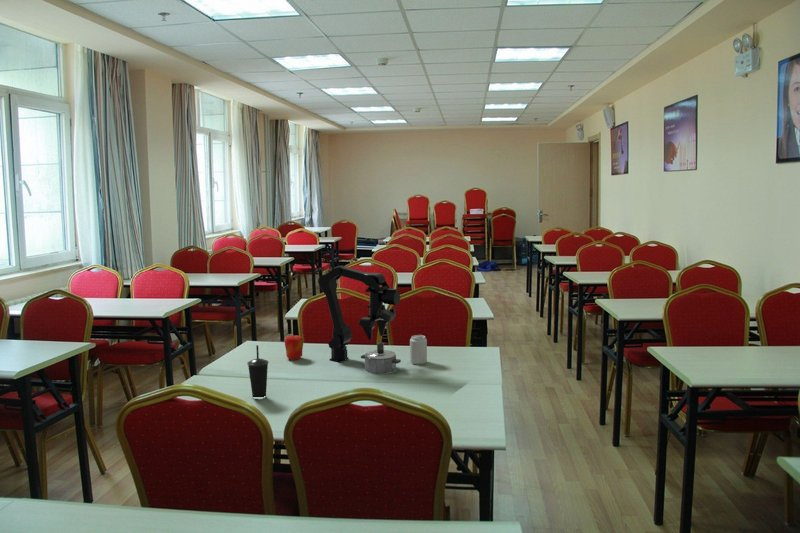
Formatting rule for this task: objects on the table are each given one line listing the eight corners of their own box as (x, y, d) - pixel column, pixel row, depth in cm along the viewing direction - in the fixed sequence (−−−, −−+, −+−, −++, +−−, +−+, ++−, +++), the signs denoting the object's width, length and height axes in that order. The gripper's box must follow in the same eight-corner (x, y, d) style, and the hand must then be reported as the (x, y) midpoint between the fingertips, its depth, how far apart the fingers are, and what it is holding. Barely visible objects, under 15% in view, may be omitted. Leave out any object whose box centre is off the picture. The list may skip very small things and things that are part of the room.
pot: (354, 370, 271) (354, 356, 270) (370, 362, 282) (370, 349, 282) (391, 376, 262) (391, 362, 262) (406, 367, 274) (406, 354, 273)
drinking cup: (250, 394, 241) (248, 343, 238) (270, 394, 242) (269, 342, 239) (247, 401, 234) (245, 348, 231) (268, 400, 234) (266, 347, 232)
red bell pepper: (294, 362, 284) (293, 336, 282) (280, 359, 288) (280, 334, 287) (307, 357, 291) (307, 332, 289) (294, 355, 295) (293, 330, 294)
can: (425, 365, 277) (425, 338, 276) (408, 364, 279) (408, 337, 277) (428, 360, 284) (428, 334, 283) (411, 360, 286) (411, 333, 284)
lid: (360, 357, 269) (359, 344, 268) (375, 350, 280) (375, 338, 279) (385, 361, 263) (385, 348, 262) (400, 353, 274) (400, 341, 273)
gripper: (380, 308, 263) (380, 345, 265) (403, 301, 279) (402, 336, 281) (358, 305, 268) (358, 341, 270) (381, 298, 284) (381, 332, 286)
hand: (375, 338), depth 277 cm, fingers open, 9 cm apart
